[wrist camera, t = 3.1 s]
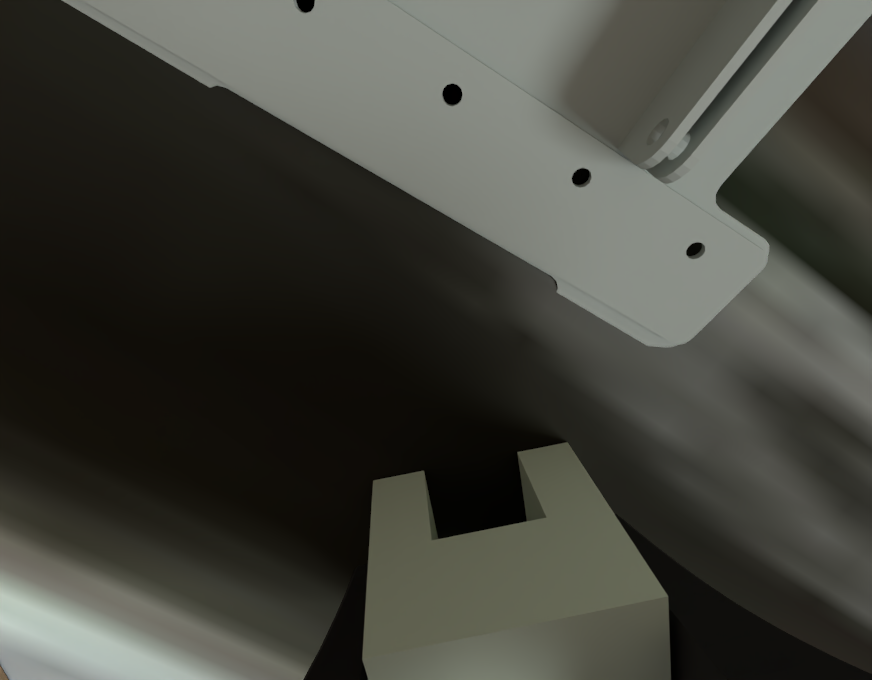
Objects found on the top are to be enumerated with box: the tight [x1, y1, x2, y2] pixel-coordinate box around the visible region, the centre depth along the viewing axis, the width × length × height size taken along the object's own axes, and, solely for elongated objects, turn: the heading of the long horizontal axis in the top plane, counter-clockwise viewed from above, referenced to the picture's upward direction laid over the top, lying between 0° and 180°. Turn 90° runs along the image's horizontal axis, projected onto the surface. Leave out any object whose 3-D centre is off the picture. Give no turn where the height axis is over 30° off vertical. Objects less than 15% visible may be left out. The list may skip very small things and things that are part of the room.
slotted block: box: [362, 442, 671, 680], centre depth 11 cm, size 4×5×5 cm
